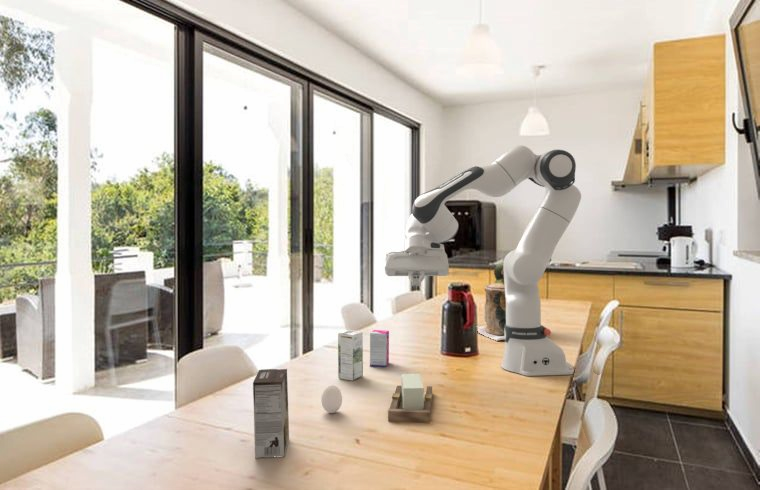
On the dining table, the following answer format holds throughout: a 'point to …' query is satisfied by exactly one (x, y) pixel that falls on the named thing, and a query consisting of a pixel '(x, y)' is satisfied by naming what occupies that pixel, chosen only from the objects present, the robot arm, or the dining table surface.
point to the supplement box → (379, 348)
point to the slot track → (409, 414)
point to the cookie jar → (495, 307)
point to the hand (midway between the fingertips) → (416, 284)
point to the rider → (412, 392)
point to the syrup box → (350, 355)
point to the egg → (331, 398)
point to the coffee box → (271, 413)
